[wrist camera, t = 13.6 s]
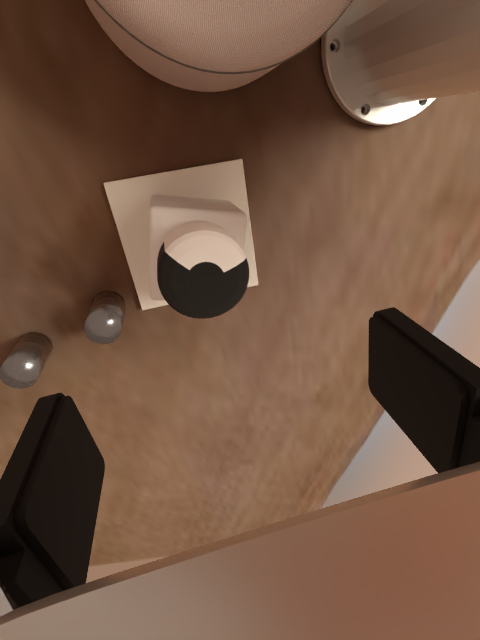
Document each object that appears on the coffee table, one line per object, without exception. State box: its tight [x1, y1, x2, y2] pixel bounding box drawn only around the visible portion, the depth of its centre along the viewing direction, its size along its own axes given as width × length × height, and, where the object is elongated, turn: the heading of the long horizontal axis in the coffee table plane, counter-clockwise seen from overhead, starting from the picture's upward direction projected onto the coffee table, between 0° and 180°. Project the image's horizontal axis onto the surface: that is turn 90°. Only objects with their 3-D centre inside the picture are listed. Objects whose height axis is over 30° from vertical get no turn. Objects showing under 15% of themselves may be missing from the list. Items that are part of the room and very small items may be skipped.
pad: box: [103, 159, 258, 310], centre depth 33 cm, size 12×12×1 cm
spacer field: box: [0, 291, 125, 388], centre depth 30 cm, size 18×16×5 cm
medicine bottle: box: [149, 194, 249, 318], centre depth 28 cm, size 7×7×12 cm
